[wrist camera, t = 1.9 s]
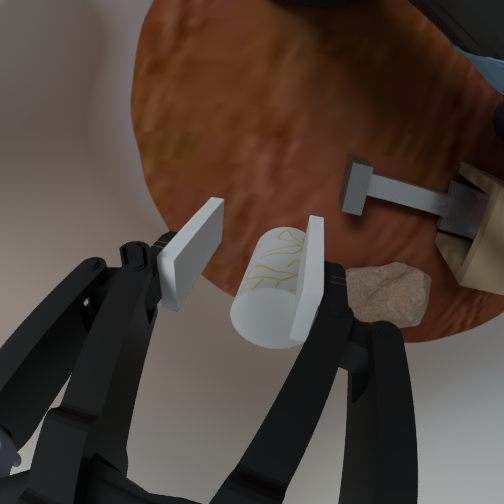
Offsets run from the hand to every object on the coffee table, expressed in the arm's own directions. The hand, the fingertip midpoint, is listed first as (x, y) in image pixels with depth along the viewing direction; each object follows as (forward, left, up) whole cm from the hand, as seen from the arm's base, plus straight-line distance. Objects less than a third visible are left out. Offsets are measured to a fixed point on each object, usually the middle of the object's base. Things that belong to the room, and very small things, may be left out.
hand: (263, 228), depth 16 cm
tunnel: (0, +24, -17) cm, 30 cm away
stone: (+14, +15, -17) cm, 27 cm away
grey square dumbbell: (0, +19, -16) cm, 25 cm away
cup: (+12, +1, -17) cm, 21 cm away
